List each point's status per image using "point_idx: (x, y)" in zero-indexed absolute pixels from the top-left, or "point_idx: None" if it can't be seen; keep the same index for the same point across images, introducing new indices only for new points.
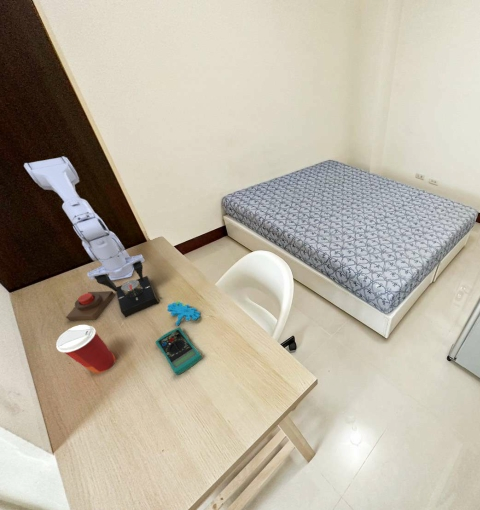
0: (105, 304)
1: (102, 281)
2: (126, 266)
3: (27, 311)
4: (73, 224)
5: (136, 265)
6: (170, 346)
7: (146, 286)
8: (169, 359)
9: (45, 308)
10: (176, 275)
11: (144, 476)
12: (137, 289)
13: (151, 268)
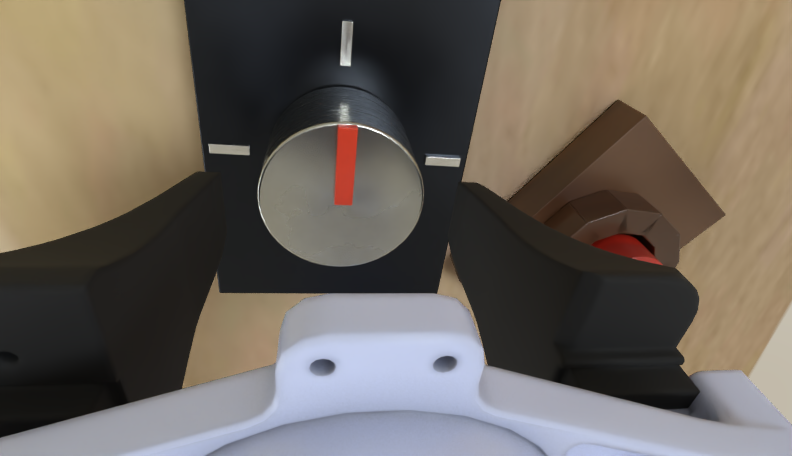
0: (527, 197)
1: (651, 273)
2: (161, 410)
3: (734, 364)
4: None
5: (40, 367)
6: None
7: (240, 168)
8: None
9: (692, 346)
10: (22, 201)
11: None
12: (300, 116)
13: (209, 362)
